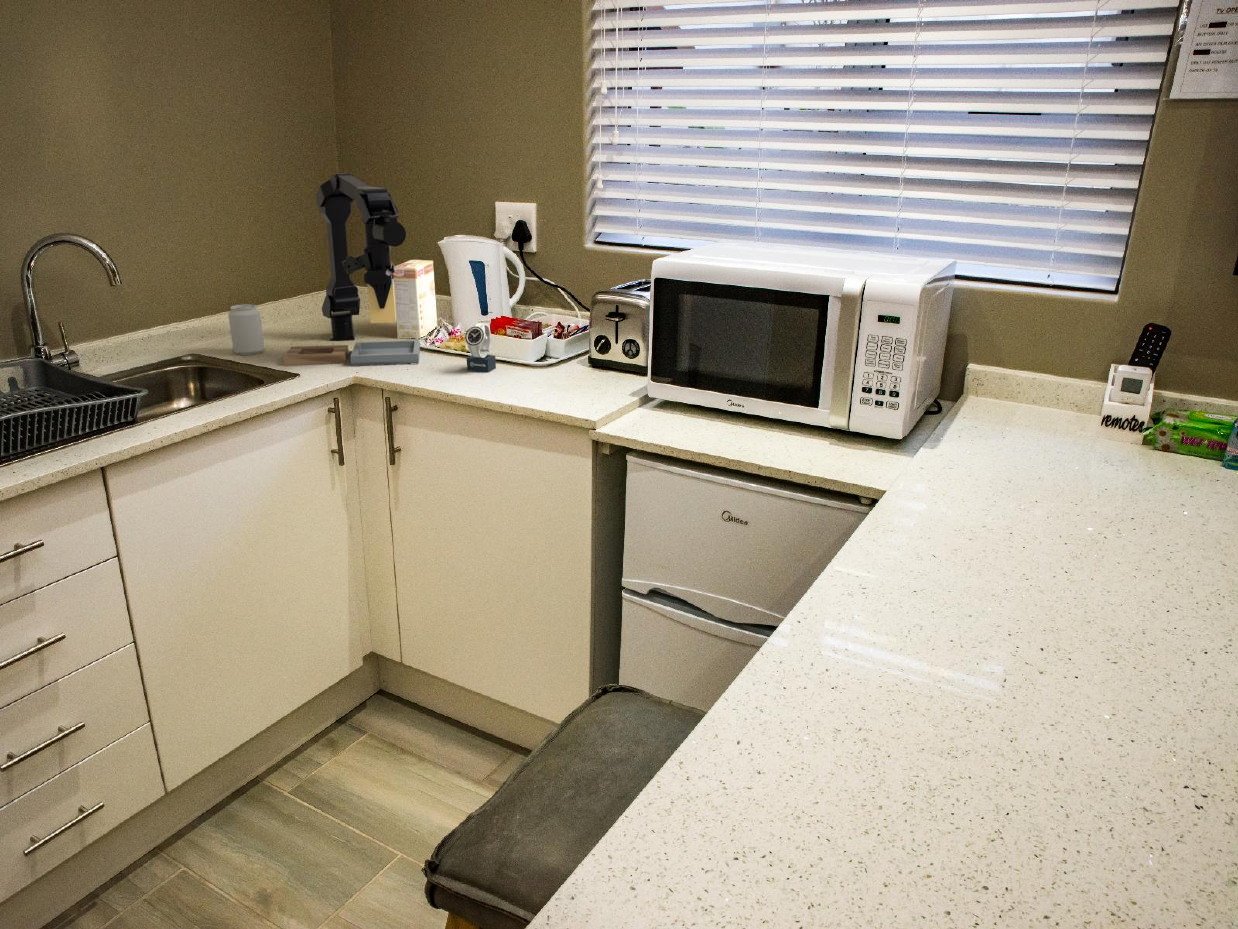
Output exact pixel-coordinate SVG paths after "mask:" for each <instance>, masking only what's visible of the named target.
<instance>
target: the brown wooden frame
mask: <svg viewBox="0 0 1238 929" xmlns="http://www.w3.org/2000/svg"><path fill="white" fill-rule="evenodd" d="M349 352H350V351H349V344H333V345H332V344H331V345H305V346H302V345H301V346H299V345H298V346H290V348H288V350H287V352H286V353H285V355H284V356H283V363H284V367H287V366H288V367H289V366H291V367H292V366H311V365H312V364H314V365H315V364H316V365H317V364H319V365H340V364H341V363H342V364H341V365H343V364H345V363H346V359H347V358H348V355H349ZM314 365H313V366H314ZM316 365H315V366H316Z"/></svg>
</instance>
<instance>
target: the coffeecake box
mask: <svg viewBox="0 0 1238 929" xmlns="http://www.w3.org/2000/svg"><path fill="white" fill-rule="evenodd" d="M394 267H395V272H394V273H392V275H394V277H393V280H394V293H395V307H396V322H395V323H396V334H397V339H399V340H412V339H411V338H419V337H423V336H425V337H427V336H428V335H429V334H430V333H429V332H431V331H432V330H433V329H435V327H436V326H437V327H438V316H437V301H436V299H437V298H436V285H435V271H434V260H426V259H425V260H423V259H410V260H407V261H404V262H403V263H400V264H398V265H394ZM428 333H429V334H428ZM431 333H432V332H431ZM427 334H428V335H427ZM407 338H408V339H407ZM409 338H410V339H409ZM423 338H424V337H423Z"/></svg>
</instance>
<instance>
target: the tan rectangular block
mask: <svg viewBox="0 0 1238 929" xmlns="http://www.w3.org/2000/svg"><path fill="white" fill-rule="evenodd" d="M366 284H367V283H366ZM367 294H368V306H369V318H370V320H369V321H370V324H381V323H382V324H383V323H396V307H395V293H394V280H393V279H392V284H391V287H390V291H389V294H388V298H387V301H386V305H385V308H384V309H380V307H379V304H378V301H377V298H376V294H375V291H374V289H373V287H371V286H370V285H369V284H367Z"/></svg>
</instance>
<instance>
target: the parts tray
mask: <svg viewBox="0 0 1238 929" xmlns="http://www.w3.org/2000/svg"><path fill="white" fill-rule="evenodd" d="M419 354H421V344H420V339H399V340H376V341H375V340H374V341H373V340H372V341H369V340H368V341H356V342H355V344H354V346H353V349H352V351H351V354H350V364H351V367H365V366H366V367H369V366H370V365H373V366H392V365H393V366H395V365H396V364H400V365H408V364H407V363H419V362H420V355H419ZM390 364H391V365H390Z"/></svg>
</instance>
